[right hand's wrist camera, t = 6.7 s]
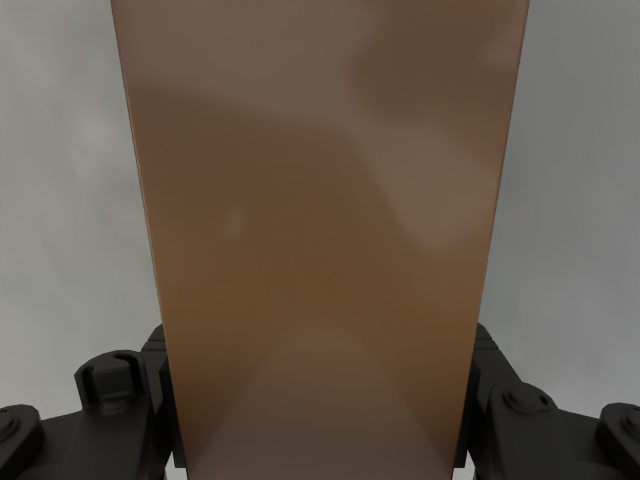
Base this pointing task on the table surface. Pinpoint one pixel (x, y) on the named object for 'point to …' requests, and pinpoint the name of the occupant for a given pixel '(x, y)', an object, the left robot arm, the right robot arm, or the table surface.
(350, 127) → the bar
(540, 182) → the table surface
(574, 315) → the table surface
